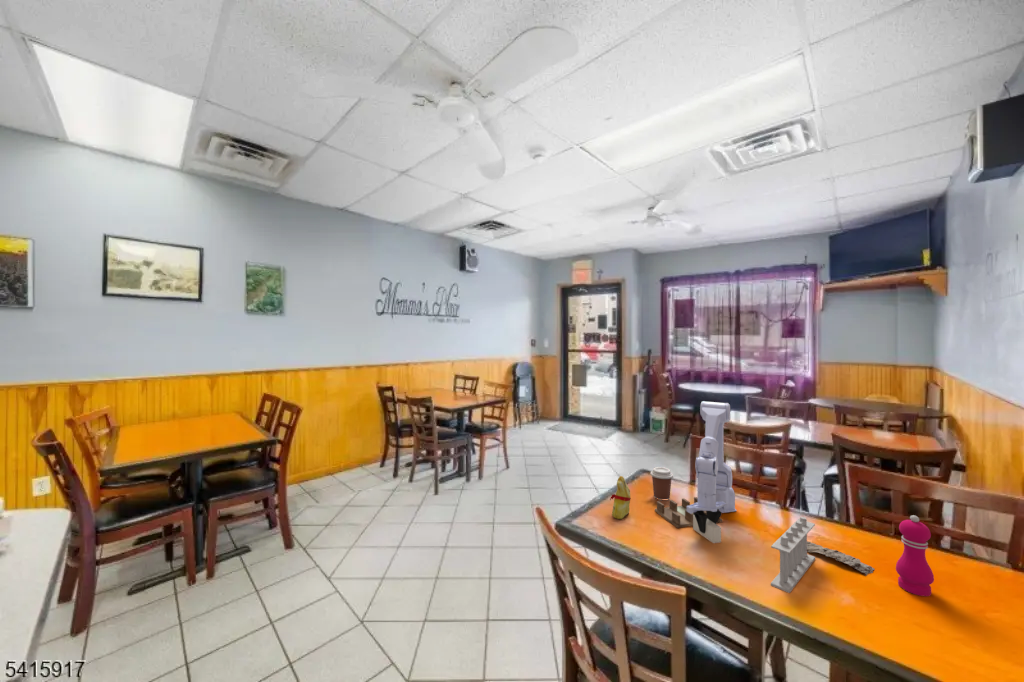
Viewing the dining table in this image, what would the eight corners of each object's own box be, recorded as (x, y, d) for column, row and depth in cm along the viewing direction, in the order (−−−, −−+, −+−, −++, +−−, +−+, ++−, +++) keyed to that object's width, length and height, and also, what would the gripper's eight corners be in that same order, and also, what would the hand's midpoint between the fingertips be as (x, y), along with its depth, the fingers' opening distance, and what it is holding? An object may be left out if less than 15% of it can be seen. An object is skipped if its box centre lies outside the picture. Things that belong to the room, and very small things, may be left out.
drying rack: (696, 506, 159) (696, 496, 159) (722, 522, 146) (722, 511, 146) (654, 511, 155) (654, 501, 155) (677, 527, 141) (677, 516, 141)
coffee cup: (652, 501, 164) (652, 472, 164) (648, 492, 173) (648, 465, 173) (675, 502, 163) (675, 473, 163) (670, 494, 172) (670, 466, 172)
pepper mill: (938, 601, 102) (938, 524, 101) (900, 591, 105) (900, 517, 105) (928, 586, 108) (928, 513, 108) (892, 577, 112) (892, 507, 111)
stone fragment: (871, 581, 112) (876, 567, 118) (872, 571, 111) (876, 558, 118) (769, 545, 131) (778, 534, 137) (769, 536, 130) (778, 526, 137)
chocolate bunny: (634, 511, 155) (633, 473, 155) (622, 521, 146) (622, 481, 146) (617, 507, 159) (617, 470, 159) (605, 516, 151) (605, 477, 150)
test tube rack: (789, 593, 105) (789, 544, 105) (770, 585, 109) (770, 538, 108) (815, 559, 121) (815, 516, 121) (798, 553, 125) (798, 511, 125)
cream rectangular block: (700, 528, 141) (700, 514, 141) (721, 542, 131) (721, 527, 131) (693, 529, 140) (693, 515, 140) (713, 543, 131) (713, 528, 131)
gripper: (696, 498, 130) (696, 539, 130) (733, 494, 134) (733, 534, 134) (682, 490, 137) (682, 529, 137) (718, 486, 140) (718, 524, 141)
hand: (706, 531), depth 136 cm, fingers closed on cream rectangular block, 3 cm apart
